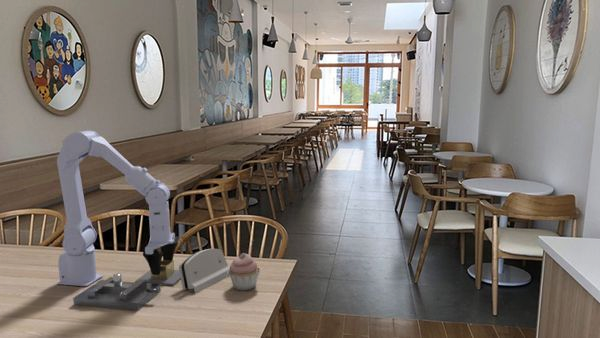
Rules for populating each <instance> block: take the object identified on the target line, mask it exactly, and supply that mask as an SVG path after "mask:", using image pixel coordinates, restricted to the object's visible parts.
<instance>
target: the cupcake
mask: <svg viewBox="0 0 600 338" xmlns="http://www.w3.org/2000/svg"><path fill="white" fill-rule="evenodd" d="M229 267H230V269H228V270H229V271H228V272H227V273H228V274H229V276H228V277H230V280H231V284H232V287H233V288H234V290H238V291H249V290H252V289H255V287H256V285H257V281H258V276H259V274H260V272H261V271H260V270H261V268H260V267H258V263H257V261H256V260H255V259H253V258H252V256H251V255H250V254H248V253H244V252H242V253H241V254H240V255H239V256H237V257H234V259H233V261H232V262H231V264H230V265H229Z"/></svg>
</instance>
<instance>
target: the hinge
mask: <svg viewBox="0 0 600 338" xmlns="http://www.w3.org/2000/svg"><path fill="white" fill-rule="evenodd" d="M228 269H230V265H228V263H227V260H226V257H225V255H224V252H223V250H222V249H220V248H208V249H204V250H203V249H202V250H199V251H196V252H195V253H193V254H190V255H189V256H188V257H186V258H185V259H183V260H182V262H181V263H180V264H179V265H178V270H179V272H180V277H181V280H180V282H181V286H182V290H183V291H186V290H192V289H193V290H194V293H195V294H198V293H200V292H202V291H203V290H205V289H208V288H209V287H212V286H213V285H215V284H217V283H218V282H221V281H223V280H224V279H227V278H228V277H230V276H229V274H228V273H227V272H228V271H229V270H228Z"/></svg>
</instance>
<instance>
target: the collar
mask: <svg viewBox="0 0 600 338" xmlns="http://www.w3.org/2000/svg"><path fill="white" fill-rule="evenodd" d="M174 270H175V261H174V260H163V259H161V269H160V274H159V275H152V273H151V279H166V280H167V279H168V278H169V277H170V276H172V275H173V274H174ZM150 272H151V270H150Z"/></svg>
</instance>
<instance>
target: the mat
mask: <svg viewBox="0 0 600 338" xmlns="http://www.w3.org/2000/svg"><path fill="white" fill-rule="evenodd" d="M139 279H145V280H147V283H151V284H160V286H171V287H172V286H173V287H174V286H176V285H177V284H178V283H179V282H181V277H180V272H179V269H174V274H173V275H172V276H170V277H169V278H168V279H167V280H166V279H151V272H150V270H148V271H146V272H145V273H144V274H143V275H141V276H140V277H138V278H137V279H136V280H135V281H134V282H137V281H138V280H139Z"/></svg>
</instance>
